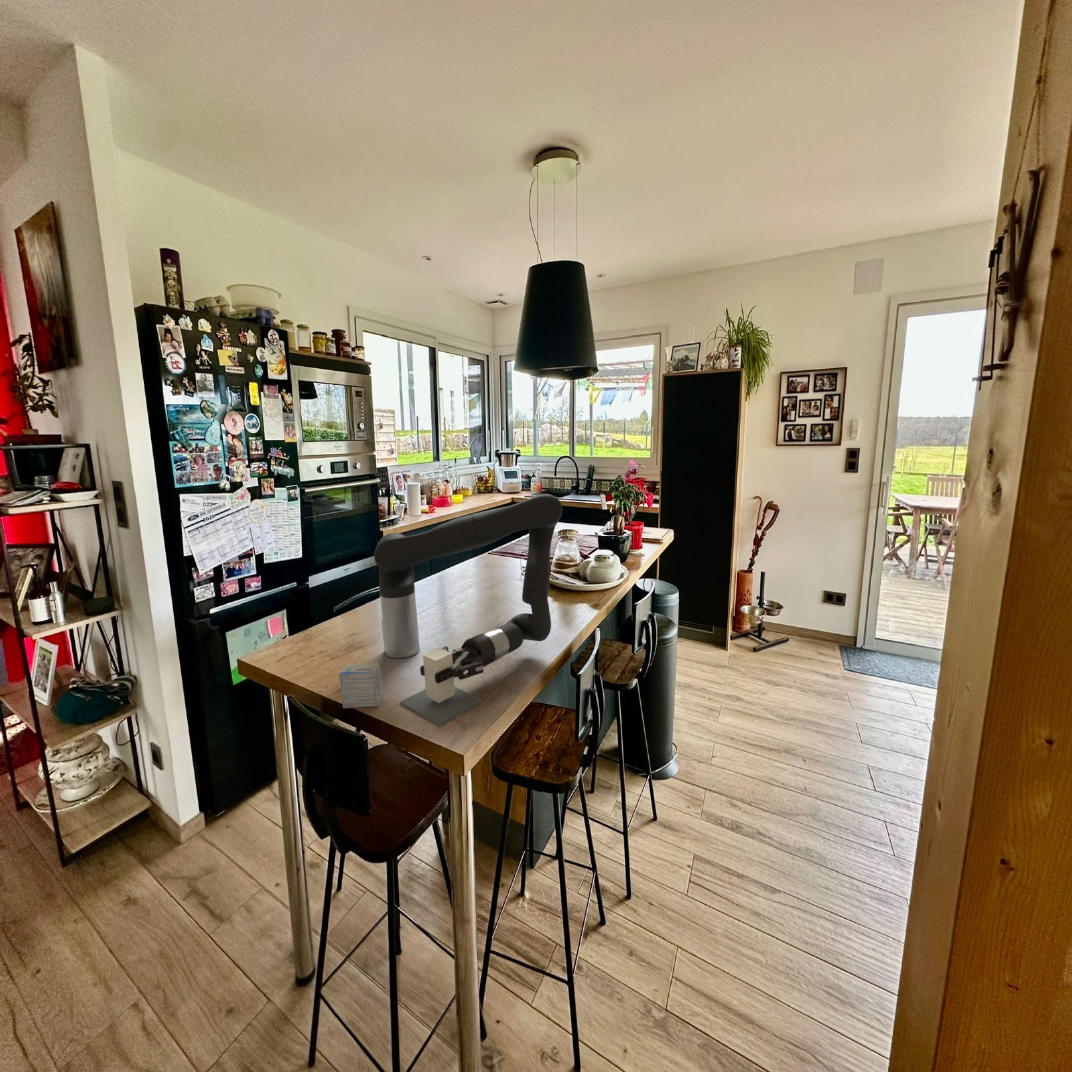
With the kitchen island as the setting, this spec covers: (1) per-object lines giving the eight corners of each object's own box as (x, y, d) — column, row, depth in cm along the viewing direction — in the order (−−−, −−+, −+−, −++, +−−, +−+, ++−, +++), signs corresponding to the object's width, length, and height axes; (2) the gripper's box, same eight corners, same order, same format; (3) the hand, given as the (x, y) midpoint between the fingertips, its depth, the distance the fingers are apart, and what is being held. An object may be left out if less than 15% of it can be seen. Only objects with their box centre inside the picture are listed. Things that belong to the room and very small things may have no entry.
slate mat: (400, 703, 110) (400, 701, 110) (442, 682, 118) (442, 680, 118) (438, 727, 101) (438, 724, 100) (482, 702, 109) (481, 700, 109)
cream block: (426, 696, 109) (422, 654, 107) (442, 688, 112) (439, 647, 110) (438, 703, 106) (435, 660, 104) (454, 694, 109) (452, 653, 107)
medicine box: (383, 697, 113) (380, 662, 111) (378, 707, 109) (374, 671, 107) (349, 698, 113) (345, 663, 111) (342, 709, 108) (338, 673, 106)
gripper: (465, 626, 122) (407, 650, 110) (506, 641, 113) (448, 669, 100) (467, 654, 124) (410, 680, 111) (507, 671, 114) (450, 702, 102)
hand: (428, 675), depth 106 cm, fingers open, 4 cm apart
